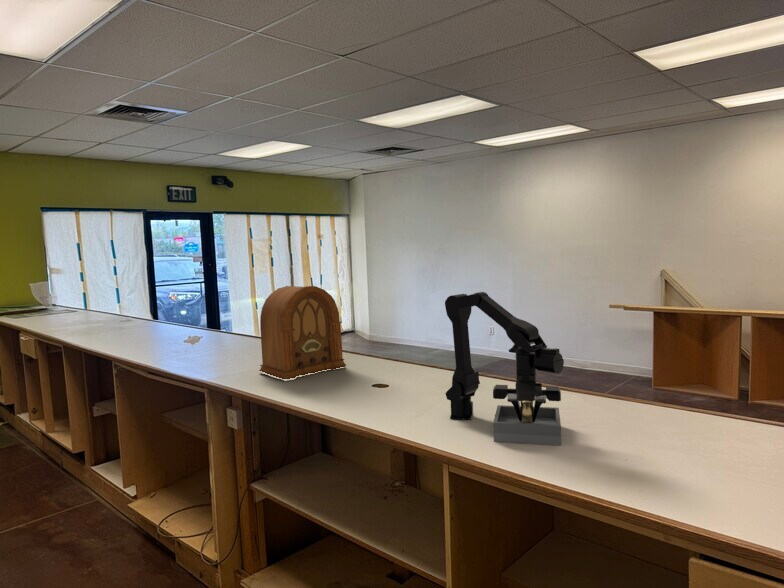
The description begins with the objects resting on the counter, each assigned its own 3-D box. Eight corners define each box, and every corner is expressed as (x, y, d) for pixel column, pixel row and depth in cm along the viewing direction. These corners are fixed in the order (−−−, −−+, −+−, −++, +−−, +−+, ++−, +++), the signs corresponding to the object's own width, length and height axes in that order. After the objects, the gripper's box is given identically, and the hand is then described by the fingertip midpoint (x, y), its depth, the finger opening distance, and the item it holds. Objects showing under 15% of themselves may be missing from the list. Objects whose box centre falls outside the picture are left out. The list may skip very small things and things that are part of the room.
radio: (285, 382, 222) (279, 289, 219) (259, 374, 239) (253, 288, 236) (346, 367, 244) (341, 283, 241) (318, 361, 261) (313, 282, 258)
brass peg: (521, 430, 149) (520, 403, 148) (521, 426, 152) (520, 399, 152) (533, 430, 148) (532, 403, 147) (533, 426, 151) (532, 400, 151)
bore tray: (493, 441, 145) (493, 422, 145) (498, 422, 160) (497, 405, 160) (561, 445, 140) (560, 425, 140) (559, 425, 155) (558, 407, 155)
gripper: (490, 374, 143) (492, 429, 145) (561, 376, 138) (562, 433, 140) (494, 365, 154) (495, 416, 156) (559, 367, 149) (560, 419, 150)
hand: (527, 421), depth 150 cm, fingers closed on brass peg, 3 cm apart
